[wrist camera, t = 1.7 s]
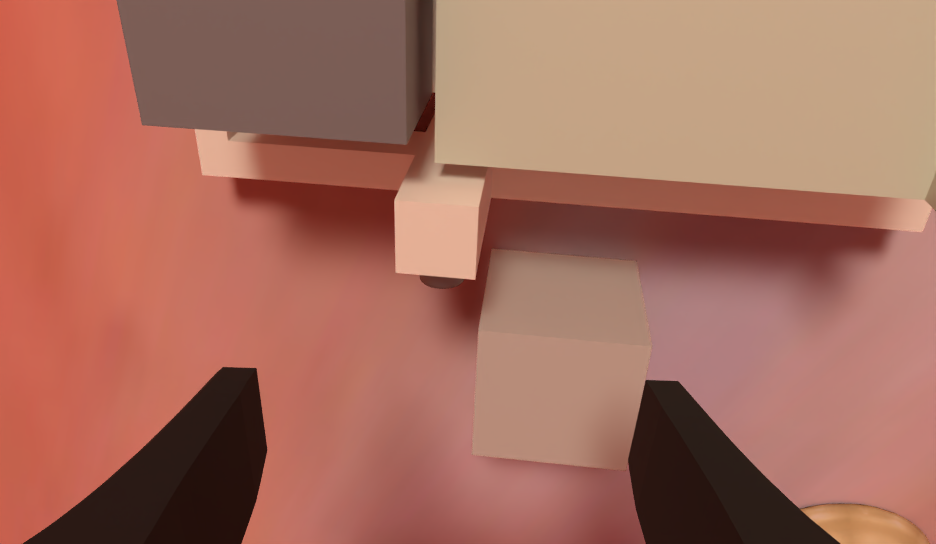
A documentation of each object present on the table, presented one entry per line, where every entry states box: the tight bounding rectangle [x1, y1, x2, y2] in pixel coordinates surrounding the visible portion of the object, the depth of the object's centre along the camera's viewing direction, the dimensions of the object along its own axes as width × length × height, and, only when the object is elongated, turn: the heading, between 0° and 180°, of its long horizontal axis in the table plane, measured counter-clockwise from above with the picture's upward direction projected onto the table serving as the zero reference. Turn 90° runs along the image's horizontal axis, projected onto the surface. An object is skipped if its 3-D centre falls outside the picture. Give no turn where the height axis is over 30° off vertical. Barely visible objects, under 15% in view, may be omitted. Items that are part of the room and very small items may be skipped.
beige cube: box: [472, 248, 652, 471], centre depth 24 cm, size 5×5×5 cm
